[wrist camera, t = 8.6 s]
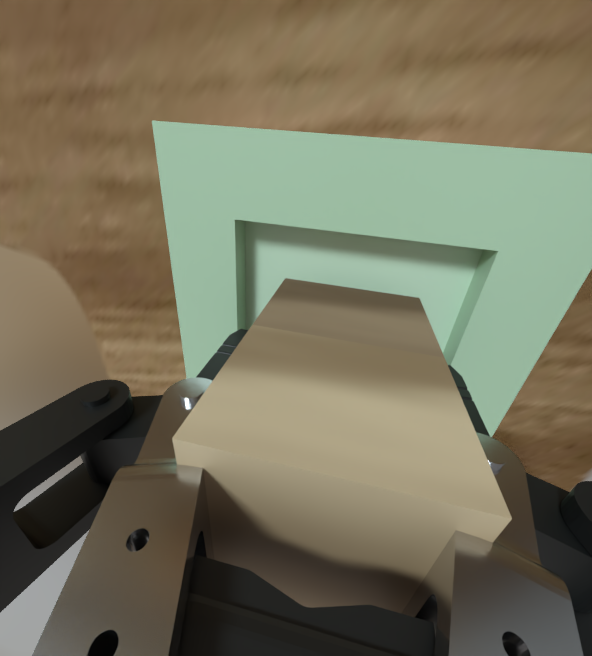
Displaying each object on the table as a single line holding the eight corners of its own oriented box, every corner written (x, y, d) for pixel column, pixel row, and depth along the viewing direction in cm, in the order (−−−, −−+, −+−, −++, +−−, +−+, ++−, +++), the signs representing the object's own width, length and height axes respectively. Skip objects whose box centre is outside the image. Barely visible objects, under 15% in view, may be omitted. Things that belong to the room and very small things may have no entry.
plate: (189, 129, 11) (151, 120, 9) (593, 160, 9) (656, 158, 7) (212, 399, 17) (193, 428, 15) (448, 449, 15) (460, 489, 13)
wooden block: (285, 278, 10) (172, 438, 4) (419, 297, 10) (512, 518, 4) (278, 379, 12) (198, 578, 6) (387, 400, 12) (410, 642, 6)
